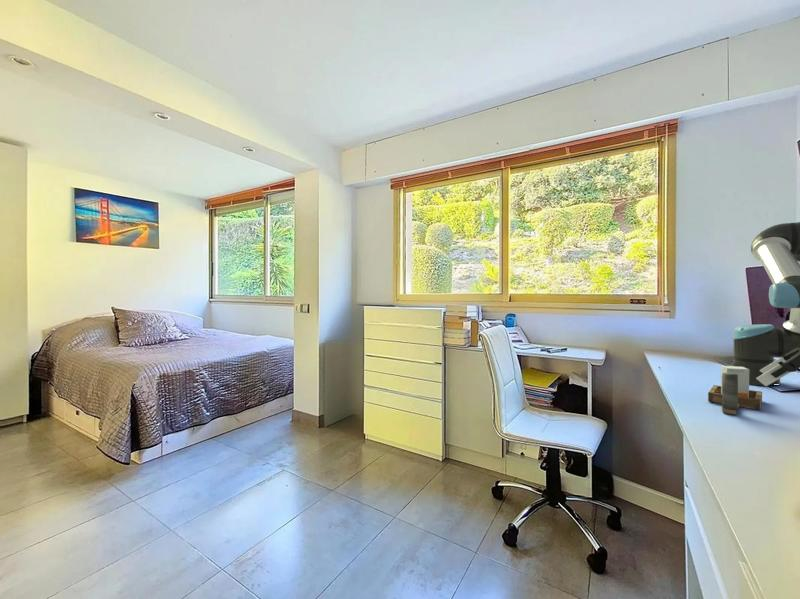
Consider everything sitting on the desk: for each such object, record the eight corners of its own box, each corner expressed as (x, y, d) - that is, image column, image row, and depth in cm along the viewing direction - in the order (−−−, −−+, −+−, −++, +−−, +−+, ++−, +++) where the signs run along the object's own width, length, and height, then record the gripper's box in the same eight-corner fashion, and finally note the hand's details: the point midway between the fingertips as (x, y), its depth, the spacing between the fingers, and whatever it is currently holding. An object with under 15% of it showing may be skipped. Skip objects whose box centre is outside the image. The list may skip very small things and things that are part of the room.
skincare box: (726, 403, 119) (726, 368, 119) (720, 399, 123) (720, 365, 123) (749, 404, 117) (749, 369, 117) (743, 401, 121) (743, 366, 121)
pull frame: (713, 393, 130) (713, 360, 129) (762, 400, 120) (762, 365, 120) (703, 409, 113) (702, 372, 113) (757, 418, 104) (757, 378, 104)
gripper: (866, 347, 82) (773, 397, 94) (855, 336, 99) (777, 380, 110) (830, 323, 86) (745, 374, 98) (825, 316, 103) (753, 361, 114)
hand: (762, 378), depth 104 cm, fingers open, 13 cm apart
